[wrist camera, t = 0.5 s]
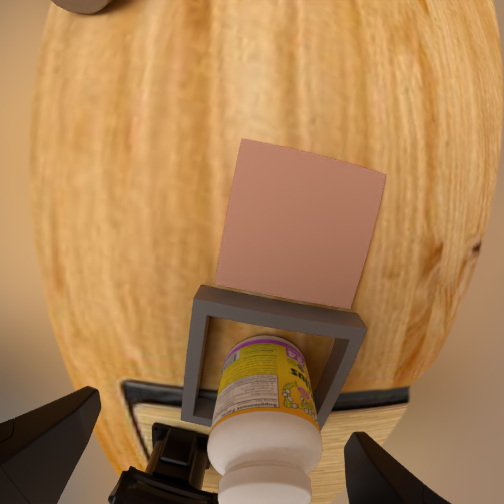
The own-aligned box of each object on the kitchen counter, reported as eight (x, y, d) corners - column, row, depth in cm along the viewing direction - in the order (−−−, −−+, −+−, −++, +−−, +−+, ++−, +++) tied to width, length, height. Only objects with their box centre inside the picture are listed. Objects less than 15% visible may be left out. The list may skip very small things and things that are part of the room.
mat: (347, 305, 21) (349, 309, 21) (215, 281, 21) (214, 284, 21) (382, 174, 19) (386, 174, 18) (242, 139, 19) (241, 138, 18)
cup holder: (312, 421, 24) (315, 439, 22) (186, 401, 24) (180, 420, 22) (357, 313, 21) (367, 328, 19) (201, 284, 21) (193, 298, 19)
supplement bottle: (310, 387, 23) (333, 515, 11) (235, 399, 24) (220, 525, 11) (299, 323, 22) (329, 463, 9) (214, 338, 22) (176, 475, 10)
